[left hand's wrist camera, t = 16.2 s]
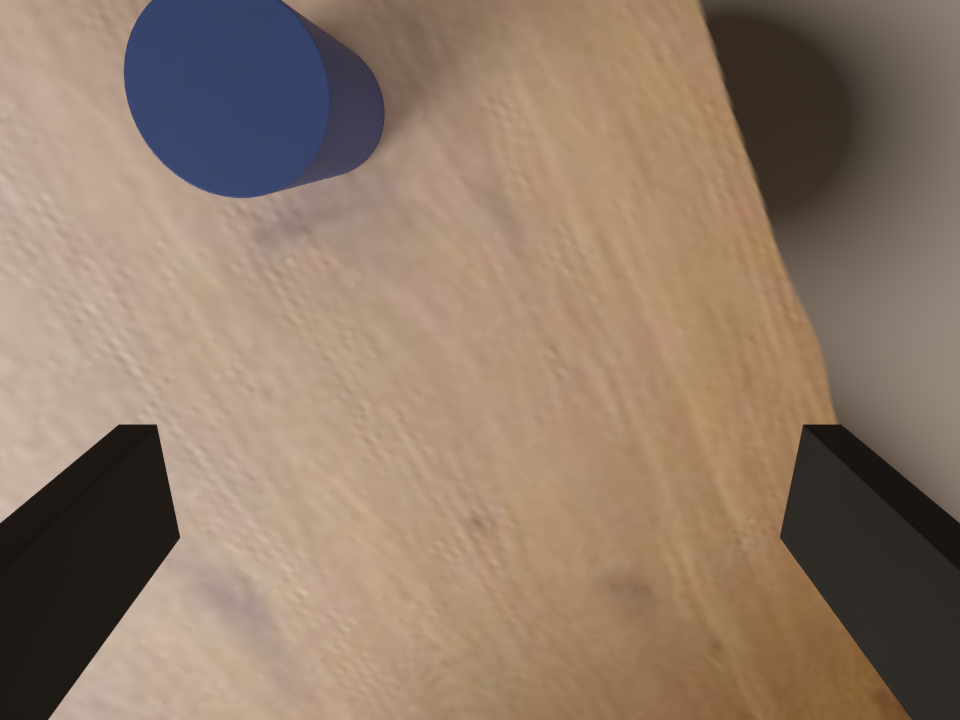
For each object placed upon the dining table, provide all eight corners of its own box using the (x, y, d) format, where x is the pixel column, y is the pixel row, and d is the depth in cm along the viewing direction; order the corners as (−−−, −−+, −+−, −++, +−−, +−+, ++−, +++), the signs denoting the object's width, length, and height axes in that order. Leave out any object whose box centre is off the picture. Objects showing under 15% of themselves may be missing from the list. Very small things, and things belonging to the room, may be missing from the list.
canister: (384, 43, 27) (327, -18, 17) (384, 179, 29) (333, 203, 19) (252, 35, 27) (108, -32, 16) (261, 173, 29) (137, 192, 18)
